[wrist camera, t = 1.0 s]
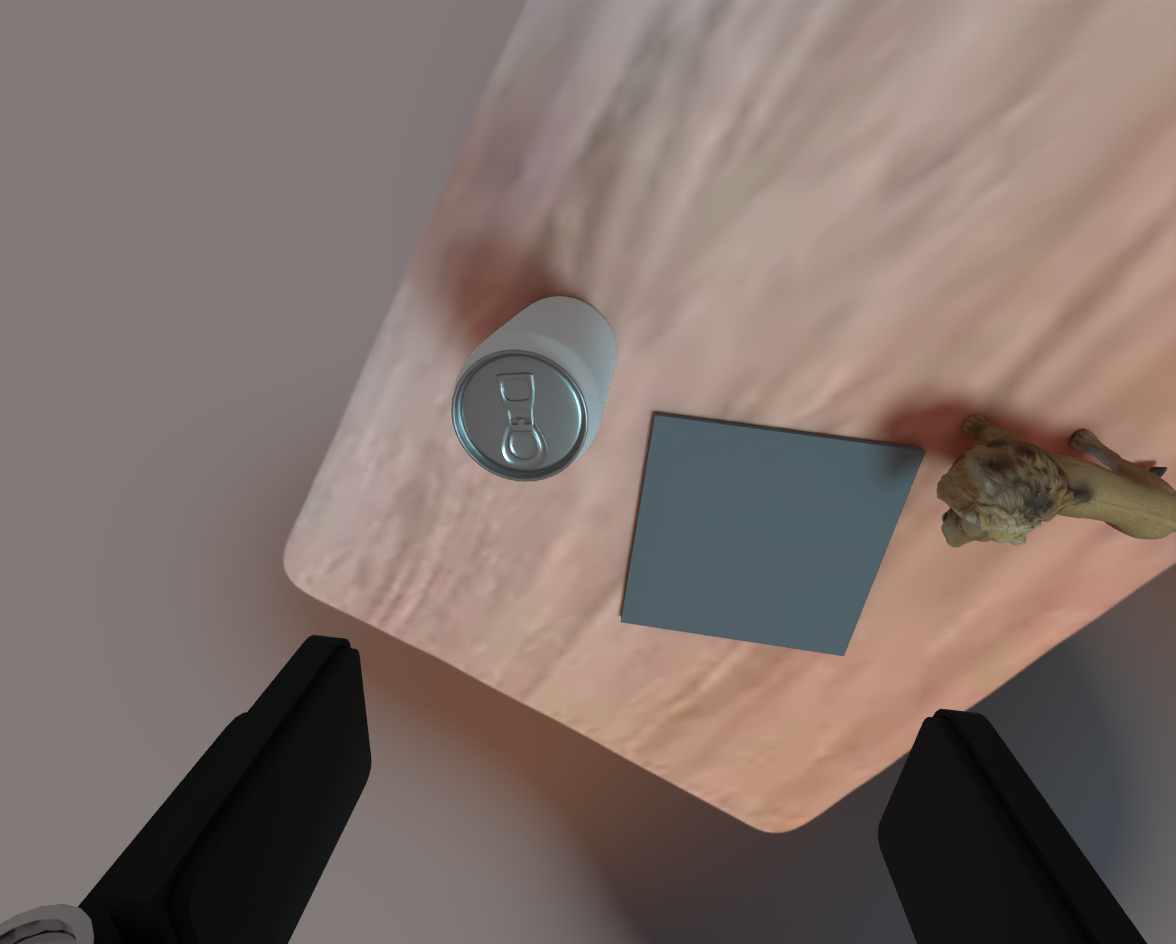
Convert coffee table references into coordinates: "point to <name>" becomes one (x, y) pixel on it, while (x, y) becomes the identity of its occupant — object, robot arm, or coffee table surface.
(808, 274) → the coffee table surface
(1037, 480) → the lion figurine
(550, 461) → the can
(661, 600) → the mat
